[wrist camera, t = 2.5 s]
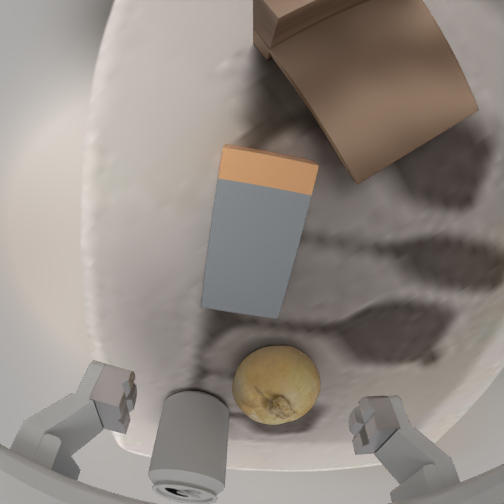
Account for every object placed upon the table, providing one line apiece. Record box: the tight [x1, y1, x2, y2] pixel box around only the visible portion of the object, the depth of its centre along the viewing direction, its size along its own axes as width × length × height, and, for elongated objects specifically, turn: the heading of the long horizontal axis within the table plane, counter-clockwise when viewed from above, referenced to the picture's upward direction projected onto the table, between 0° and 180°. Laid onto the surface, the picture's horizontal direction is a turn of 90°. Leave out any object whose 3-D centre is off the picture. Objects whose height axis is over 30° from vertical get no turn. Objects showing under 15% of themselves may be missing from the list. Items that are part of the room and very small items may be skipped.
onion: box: [232, 346, 320, 425], centre depth 25 cm, size 8×8×7 cm
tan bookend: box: [253, 0, 479, 184], centre depth 13 cm, size 10×10×10 cm
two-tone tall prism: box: [201, 144, 319, 319], centre depth 22 cm, size 12×6×2 cm, turn 170°
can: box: [148, 391, 229, 504], centre depth 27 cm, size 8×8×12 cm
